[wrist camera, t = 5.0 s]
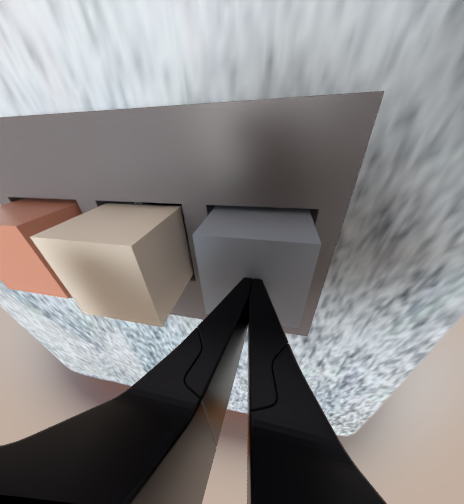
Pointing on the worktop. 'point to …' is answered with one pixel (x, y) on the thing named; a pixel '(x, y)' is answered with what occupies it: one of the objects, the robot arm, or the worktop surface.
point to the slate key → (258, 255)
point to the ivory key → (121, 260)
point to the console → (200, 164)
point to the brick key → (31, 243)
